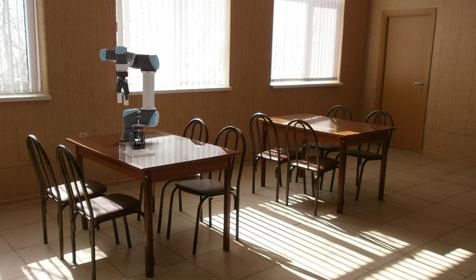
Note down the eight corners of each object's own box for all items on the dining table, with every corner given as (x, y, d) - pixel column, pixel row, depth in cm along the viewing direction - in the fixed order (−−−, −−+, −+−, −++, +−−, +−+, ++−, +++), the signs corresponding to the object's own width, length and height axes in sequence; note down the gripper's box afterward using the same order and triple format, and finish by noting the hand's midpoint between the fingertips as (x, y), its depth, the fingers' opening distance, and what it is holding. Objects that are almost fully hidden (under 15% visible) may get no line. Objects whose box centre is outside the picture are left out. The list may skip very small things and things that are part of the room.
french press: (142, 147, 326) (141, 114, 322) (149, 149, 319) (148, 116, 315) (127, 149, 318) (126, 116, 314) (134, 152, 312) (133, 117, 307)
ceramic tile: (123, 153, 308) (123, 150, 307) (146, 150, 316) (146, 148, 316) (130, 157, 296) (130, 155, 296) (154, 154, 304) (154, 152, 304)
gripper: (110, 69, 305) (111, 102, 309) (122, 71, 284) (123, 106, 288) (121, 69, 309) (122, 101, 313) (134, 71, 288) (135, 105, 292)
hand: (122, 104), depth 301 cm, fingers open, 13 cm apart
